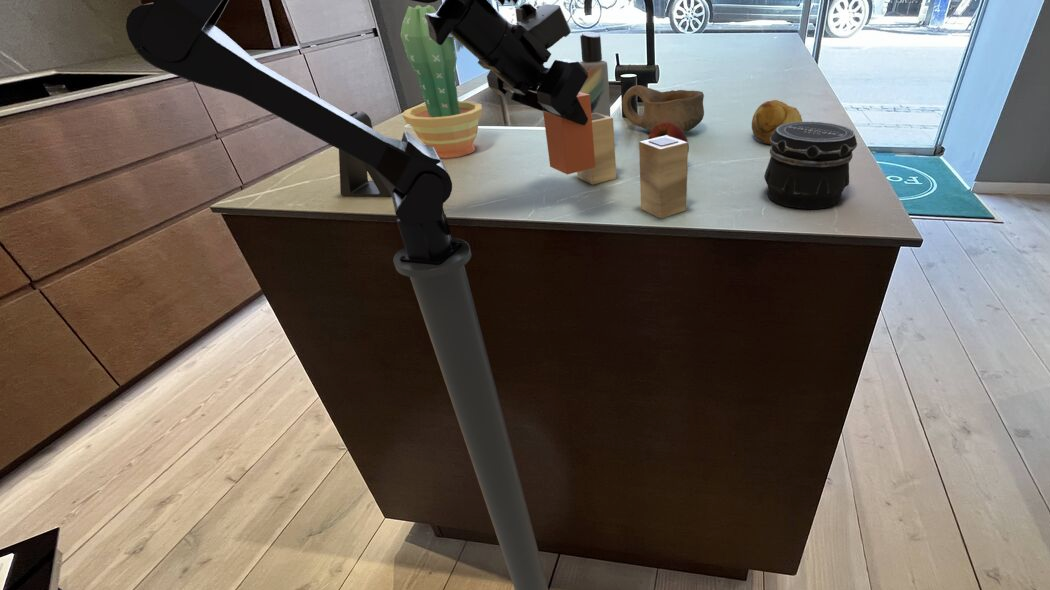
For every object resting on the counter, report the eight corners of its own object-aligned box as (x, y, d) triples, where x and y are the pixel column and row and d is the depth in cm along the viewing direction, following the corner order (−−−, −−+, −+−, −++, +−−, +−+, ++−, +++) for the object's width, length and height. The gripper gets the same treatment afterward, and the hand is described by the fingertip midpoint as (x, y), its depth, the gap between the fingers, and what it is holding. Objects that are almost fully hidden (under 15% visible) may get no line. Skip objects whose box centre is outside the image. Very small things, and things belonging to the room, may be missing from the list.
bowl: (616, 135, 109) (615, 81, 105) (626, 137, 122) (625, 88, 118) (702, 134, 107) (704, 79, 103) (703, 136, 120) (705, 87, 116)
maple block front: (686, 210, 80) (688, 141, 74) (660, 218, 78) (660, 148, 72) (666, 201, 84) (666, 134, 77) (640, 209, 81) (638, 140, 75)
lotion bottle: (599, 140, 112) (591, 29, 100) (617, 145, 109) (611, 31, 96) (578, 146, 109) (568, 33, 97) (597, 151, 105) (588, 35, 93)
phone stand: (407, 184, 93) (385, 111, 86) (391, 196, 89) (366, 120, 81) (359, 183, 94) (334, 111, 87) (341, 196, 90) (312, 120, 82)
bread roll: (745, 131, 114) (748, 90, 109) (789, 129, 114) (795, 88, 109) (755, 148, 104) (760, 104, 99) (805, 146, 104) (812, 102, 99)
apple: (638, 170, 96) (636, 123, 91) (665, 159, 100) (665, 114, 95) (669, 178, 92) (669, 130, 87) (696, 167, 96) (698, 120, 91)
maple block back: (616, 178, 93) (613, 116, 86) (592, 185, 90) (587, 122, 84) (601, 171, 96) (596, 111, 90) (577, 177, 94) (571, 116, 87)
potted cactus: (450, 167, 100) (411, 10, 85) (397, 156, 107) (352, 8, 91) (506, 146, 110) (481, 2, 95) (455, 137, 117) (423, 1, 102)
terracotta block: (567, 174, 77) (559, 99, 71) (550, 166, 80) (540, 93, 74) (595, 167, 79) (590, 93, 73) (577, 159, 83) (570, 88, 76)
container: (842, 184, 87) (855, 120, 81) (848, 214, 77) (864, 144, 71) (763, 180, 90) (771, 118, 83) (760, 209, 80) (768, 140, 74)
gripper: (566, -21, 58) (646, 78, 70) (491, -22, 69) (570, 62, 81) (513, 69, 59) (601, 151, 71) (448, 53, 70) (533, 125, 83)
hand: (576, 119), depth 76 cm, fingers closed on terracotta block, 5 cm apart
